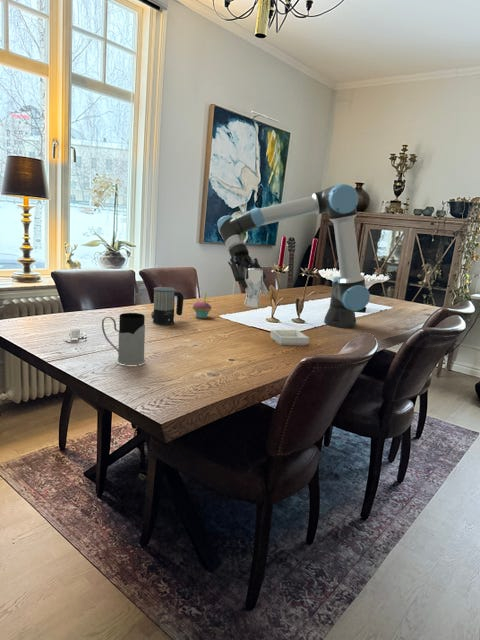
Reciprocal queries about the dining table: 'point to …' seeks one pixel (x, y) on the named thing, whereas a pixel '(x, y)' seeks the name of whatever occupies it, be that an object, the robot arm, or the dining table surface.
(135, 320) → the glass holder
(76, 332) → the teacup and saucer
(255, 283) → the beer glass
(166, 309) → the milk frother
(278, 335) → the cup holder
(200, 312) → the cupcake
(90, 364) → the dining table surface
